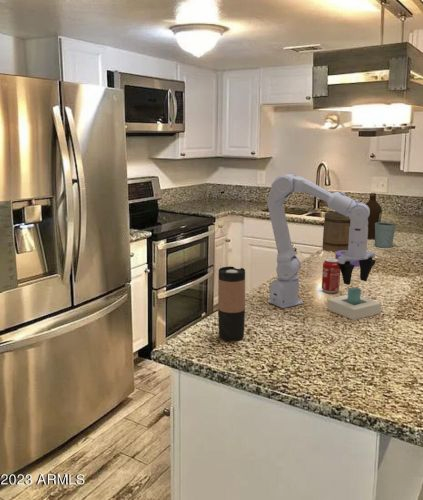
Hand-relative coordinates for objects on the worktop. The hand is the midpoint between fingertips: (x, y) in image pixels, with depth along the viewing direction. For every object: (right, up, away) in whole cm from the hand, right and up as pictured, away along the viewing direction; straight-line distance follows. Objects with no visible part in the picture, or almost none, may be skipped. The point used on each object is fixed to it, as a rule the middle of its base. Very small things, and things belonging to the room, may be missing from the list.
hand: (355, 282), depth 164 cm
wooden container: (+17, +11, +92) cm, 94 cm away
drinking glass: (+43, +12, +98) cm, 107 cm away
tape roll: (+15, +4, +63) cm, 65 cm away
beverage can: (-3, -5, +23) cm, 24 cm away
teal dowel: (0, -9, +2) cm, 9 cm away
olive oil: (+42, +17, +119) cm, 127 cm away
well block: (0, -10, +2) cm, 10 cm away
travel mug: (-41, -15, -18) cm, 47 cm away
